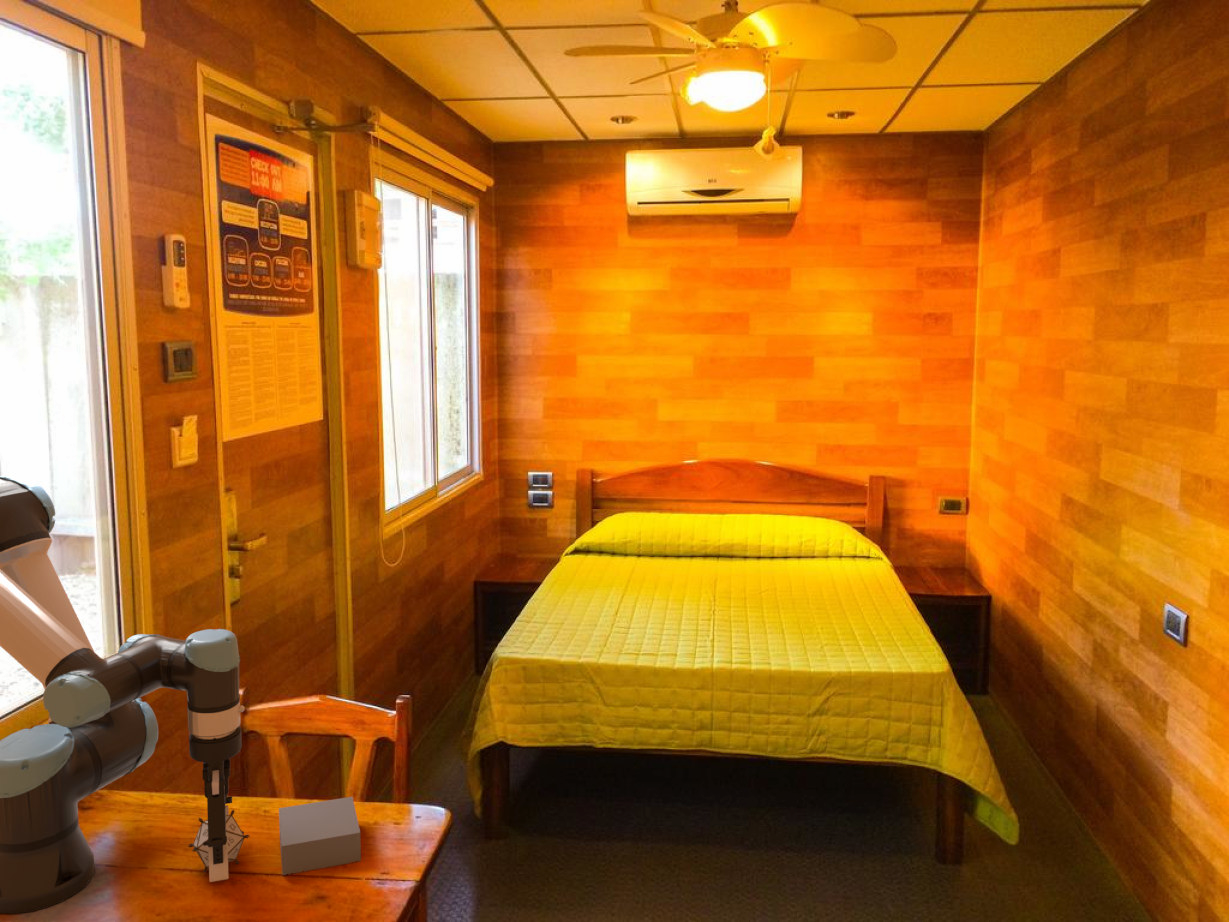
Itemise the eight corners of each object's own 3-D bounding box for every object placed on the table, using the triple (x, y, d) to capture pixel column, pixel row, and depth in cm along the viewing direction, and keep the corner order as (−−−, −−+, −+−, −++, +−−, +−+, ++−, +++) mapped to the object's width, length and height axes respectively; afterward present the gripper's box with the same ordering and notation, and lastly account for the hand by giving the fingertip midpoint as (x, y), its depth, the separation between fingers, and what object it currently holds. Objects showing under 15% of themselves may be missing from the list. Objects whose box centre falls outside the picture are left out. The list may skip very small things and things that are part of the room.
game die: (206, 888, 149) (166, 841, 147) (246, 846, 155) (208, 801, 154) (230, 883, 143) (188, 834, 142) (271, 840, 150) (231, 793, 148)
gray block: (282, 875, 147) (281, 846, 146) (279, 835, 158) (278, 808, 157) (360, 860, 151) (360, 832, 151) (352, 823, 162) (352, 796, 162)
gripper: (240, 757, 137) (245, 897, 141) (241, 698, 157) (244, 821, 161) (184, 765, 134) (190, 907, 138) (192, 704, 154) (197, 829, 158)
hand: (219, 861), depth 149 cm, fingers closed on game die, 9 cm apart
